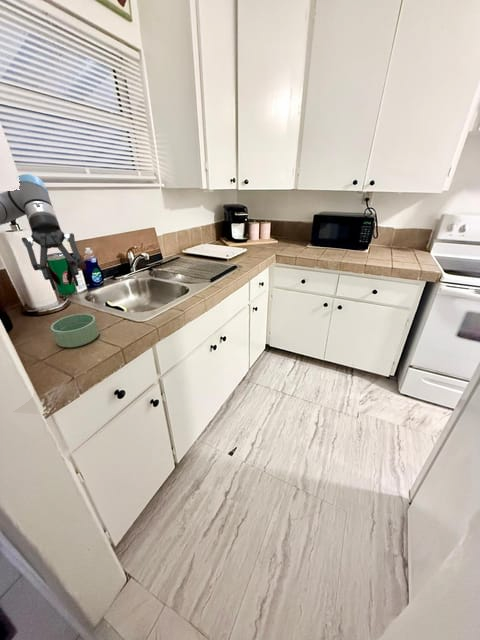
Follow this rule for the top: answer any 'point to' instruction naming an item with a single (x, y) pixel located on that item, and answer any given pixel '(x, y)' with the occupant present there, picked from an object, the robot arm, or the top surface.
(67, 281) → the soda can
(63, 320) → the bowl
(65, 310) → the top surface
